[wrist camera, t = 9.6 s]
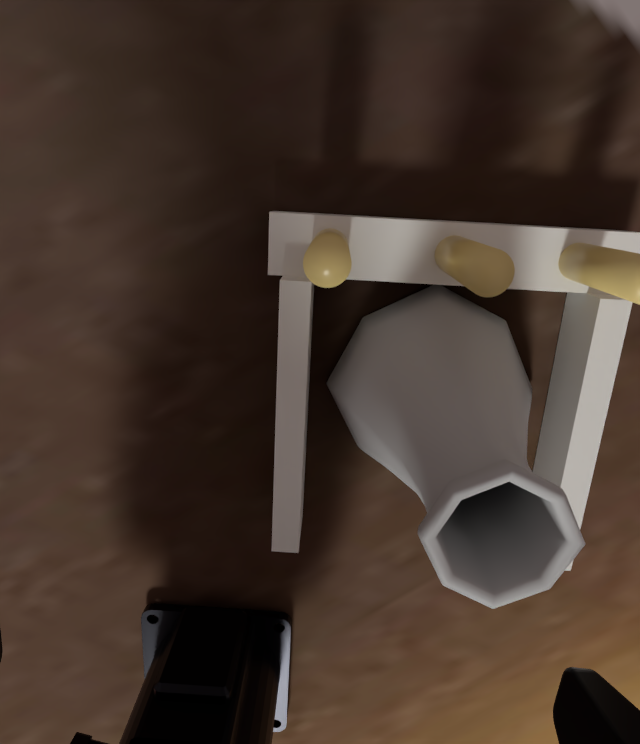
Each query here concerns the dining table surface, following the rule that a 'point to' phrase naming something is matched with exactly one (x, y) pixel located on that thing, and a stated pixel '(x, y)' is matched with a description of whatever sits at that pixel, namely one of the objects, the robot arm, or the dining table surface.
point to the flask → (458, 442)
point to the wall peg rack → (483, 277)
